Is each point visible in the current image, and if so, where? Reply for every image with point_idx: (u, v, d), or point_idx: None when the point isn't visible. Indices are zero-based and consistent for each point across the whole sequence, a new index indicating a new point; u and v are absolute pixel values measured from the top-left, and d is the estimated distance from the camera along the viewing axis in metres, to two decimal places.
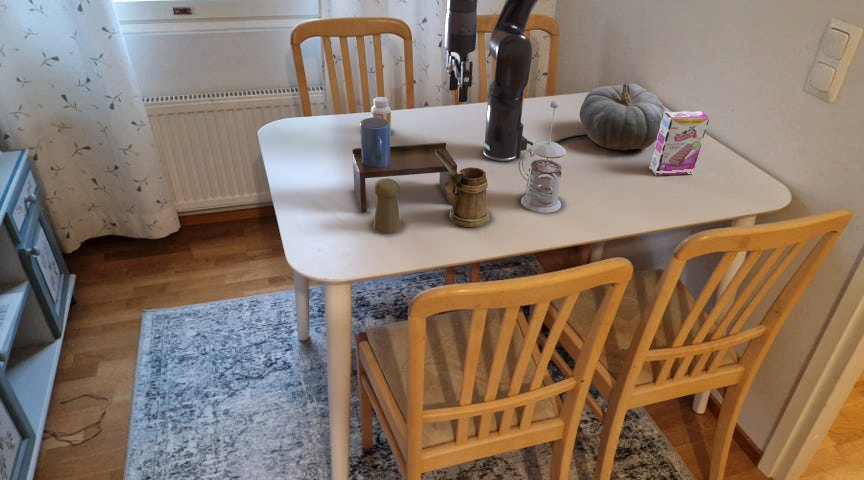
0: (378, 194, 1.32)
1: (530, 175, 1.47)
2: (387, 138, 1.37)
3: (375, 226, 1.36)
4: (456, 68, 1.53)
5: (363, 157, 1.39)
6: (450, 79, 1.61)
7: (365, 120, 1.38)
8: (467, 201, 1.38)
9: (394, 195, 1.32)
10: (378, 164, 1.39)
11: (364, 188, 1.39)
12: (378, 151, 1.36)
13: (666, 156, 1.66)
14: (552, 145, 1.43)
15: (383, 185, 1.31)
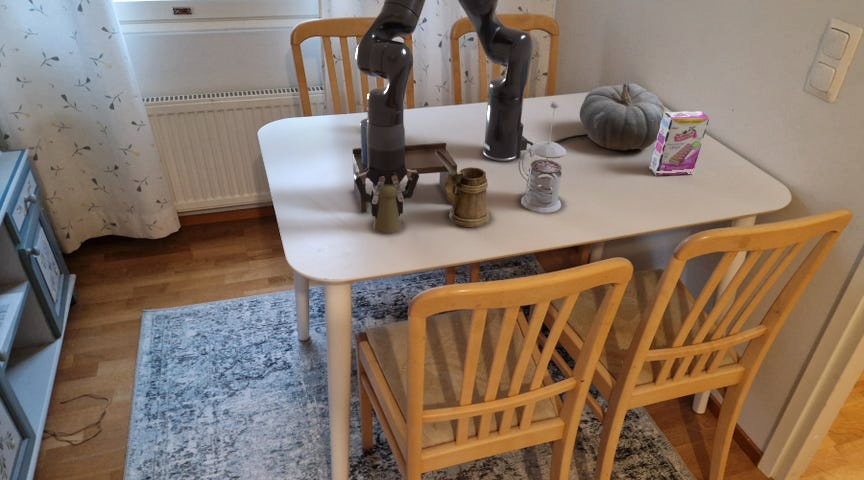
0: None
1: (530, 175, 1.47)
2: None
3: (375, 226, 1.36)
4: None
5: (363, 157, 1.39)
6: None
7: (365, 120, 1.38)
8: (467, 201, 1.38)
9: (394, 195, 1.32)
10: None
11: None
12: None
13: (666, 156, 1.66)
14: (552, 145, 1.43)
15: (383, 185, 1.31)
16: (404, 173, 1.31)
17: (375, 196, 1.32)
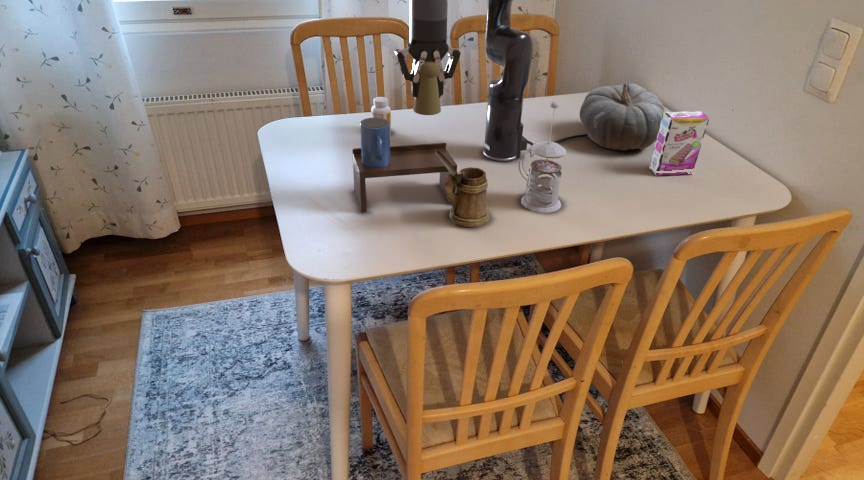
0: None
1: (530, 175, 1.47)
2: (387, 138, 1.37)
3: (415, 108, 1.35)
4: None
5: (363, 157, 1.39)
6: None
7: (365, 120, 1.38)
8: (467, 201, 1.38)
9: (435, 73, 1.31)
10: (378, 164, 1.39)
11: (364, 188, 1.39)
12: (378, 151, 1.36)
13: (666, 156, 1.66)
14: (552, 145, 1.43)
15: None
16: (446, 49, 1.30)
17: (416, 74, 1.31)
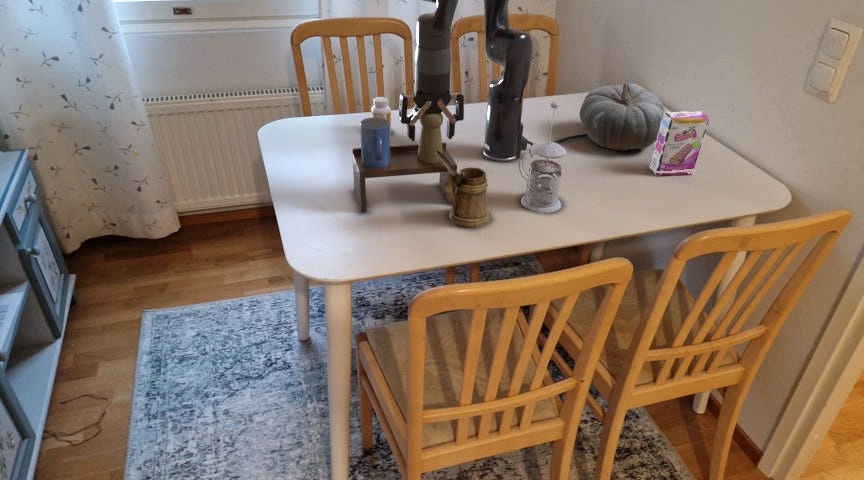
0: (424, 123, 1.39)
1: (530, 175, 1.47)
2: (387, 138, 1.37)
3: (419, 156, 1.44)
4: None
5: (363, 157, 1.39)
6: (447, 124, 1.43)
7: (365, 120, 1.38)
8: (467, 201, 1.38)
9: (439, 124, 1.40)
10: (378, 164, 1.39)
11: (364, 188, 1.39)
12: (378, 151, 1.36)
13: (666, 156, 1.66)
14: (552, 145, 1.43)
15: (428, 114, 1.38)
16: (449, 99, 1.38)
17: (412, 118, 1.38)
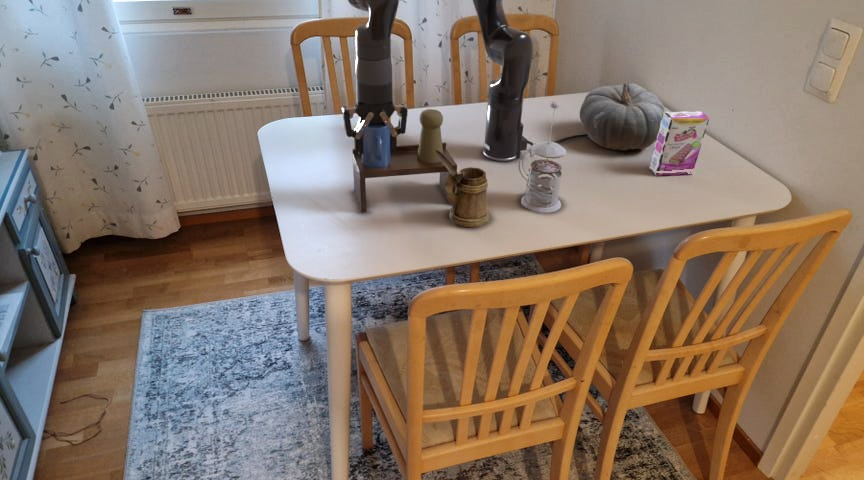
0: (424, 123, 1.39)
1: (530, 175, 1.47)
2: (387, 138, 1.37)
3: (419, 156, 1.44)
4: None
5: (363, 157, 1.39)
6: None
7: None
8: (467, 201, 1.38)
9: (439, 124, 1.40)
10: (378, 164, 1.39)
11: (364, 188, 1.39)
12: (378, 151, 1.36)
13: (666, 156, 1.66)
14: (552, 145, 1.43)
15: (428, 114, 1.38)
16: (392, 110, 1.35)
17: (358, 131, 1.36)
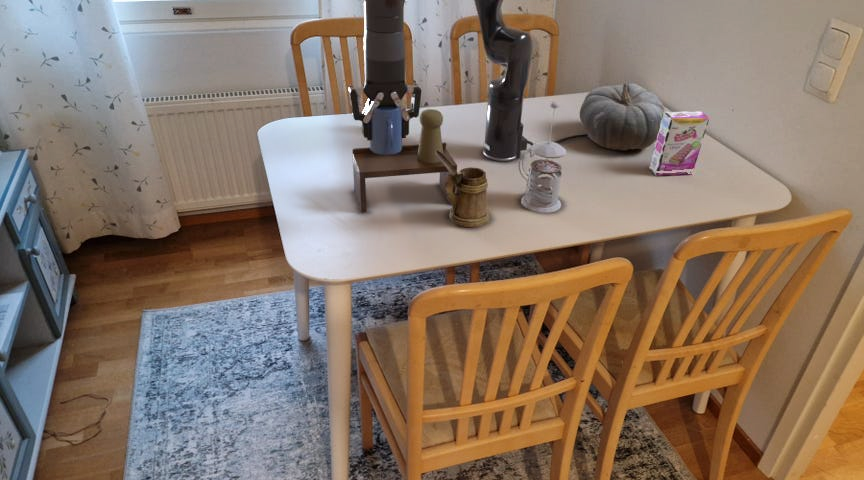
0: (424, 123, 1.39)
1: (530, 175, 1.47)
2: (399, 121, 1.23)
3: (419, 156, 1.44)
4: None
5: (372, 143, 1.25)
6: None
7: None
8: (467, 201, 1.38)
9: (439, 124, 1.40)
10: (388, 151, 1.25)
11: (364, 188, 1.39)
12: (389, 136, 1.22)
13: (666, 156, 1.66)
14: (552, 145, 1.43)
15: (428, 114, 1.38)
16: (404, 90, 1.21)
17: (367, 114, 1.22)
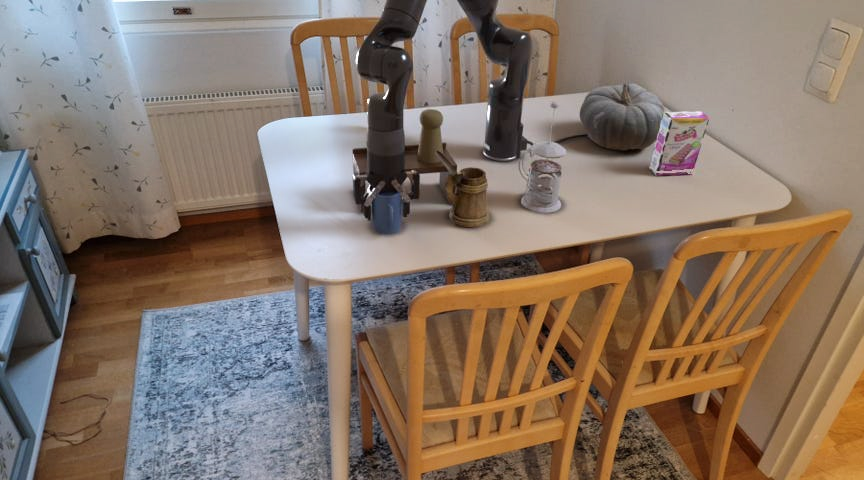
0: (424, 123, 1.39)
1: (530, 175, 1.47)
2: (399, 205, 1.34)
3: (419, 156, 1.44)
4: None
5: (374, 224, 1.36)
6: (402, 202, 1.37)
7: None
8: (467, 201, 1.38)
9: (439, 124, 1.40)
10: (389, 231, 1.36)
11: (364, 188, 1.39)
12: (389, 219, 1.32)
13: (666, 156, 1.66)
14: (552, 145, 1.43)
15: (428, 114, 1.38)
16: (404, 178, 1.32)
17: (367, 198, 1.32)
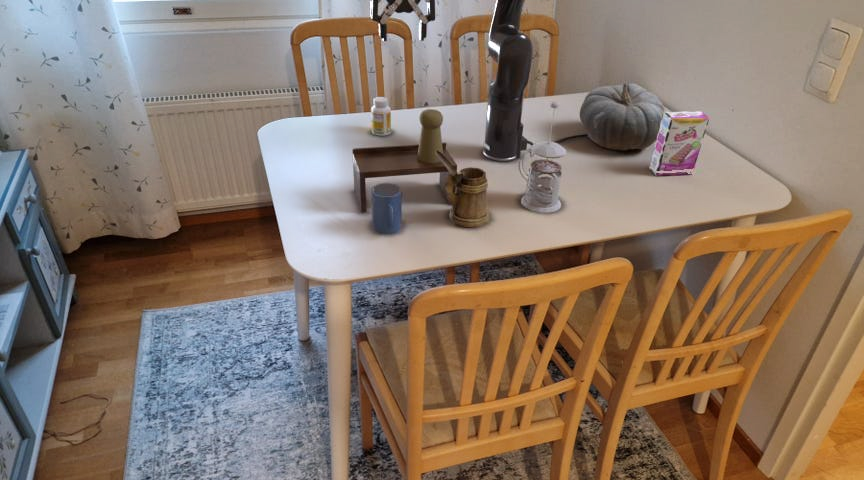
0: (424, 123, 1.39)
1: (530, 175, 1.47)
2: (399, 205, 1.34)
3: (419, 156, 1.44)
4: None
5: (374, 224, 1.36)
6: (419, 25, 1.44)
7: (376, 186, 1.34)
8: (467, 201, 1.38)
9: (439, 124, 1.40)
10: (389, 231, 1.36)
11: (364, 188, 1.39)
12: (389, 219, 1.32)
13: (666, 156, 1.66)
14: (552, 145, 1.43)
15: (428, 114, 1.38)
16: None
17: (383, 15, 1.39)
